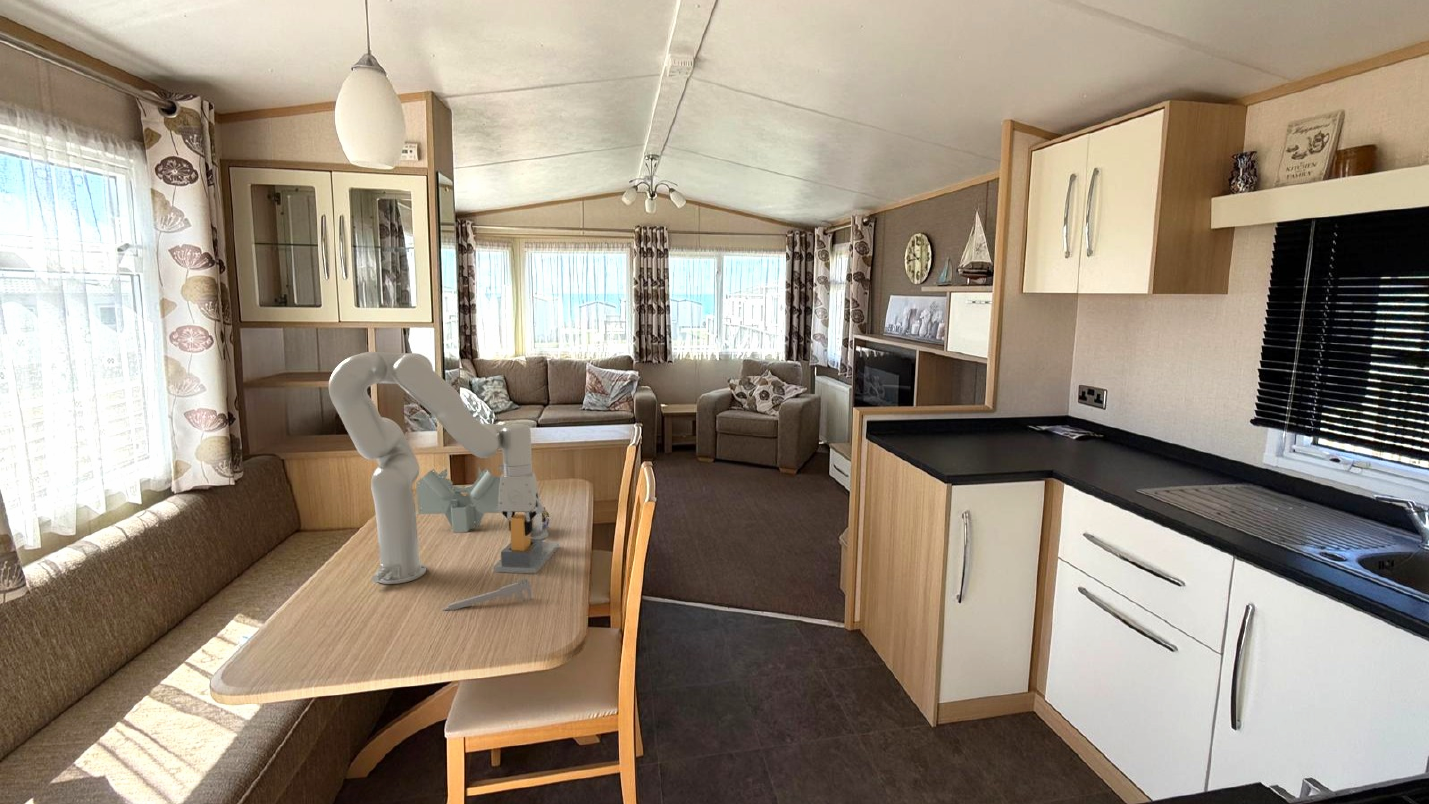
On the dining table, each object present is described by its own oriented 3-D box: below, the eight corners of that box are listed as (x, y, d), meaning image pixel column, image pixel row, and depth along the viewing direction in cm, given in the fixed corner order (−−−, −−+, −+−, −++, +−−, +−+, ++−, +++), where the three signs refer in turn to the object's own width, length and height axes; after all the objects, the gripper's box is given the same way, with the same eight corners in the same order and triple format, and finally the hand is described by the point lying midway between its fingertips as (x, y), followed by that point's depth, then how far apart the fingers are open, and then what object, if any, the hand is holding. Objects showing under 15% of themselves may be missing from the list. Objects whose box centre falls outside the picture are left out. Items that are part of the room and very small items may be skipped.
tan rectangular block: (523, 557, 184) (522, 518, 182) (511, 557, 184) (510, 518, 183) (530, 551, 189) (529, 513, 187) (518, 551, 189) (517, 513, 188)
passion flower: (544, 551, 211) (547, 529, 203) (509, 546, 210) (510, 524, 202) (551, 521, 220) (553, 499, 211) (517, 517, 218) (518, 494, 210)
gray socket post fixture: (536, 573, 181) (533, 518, 179) (493, 571, 183) (490, 517, 180) (559, 547, 200) (557, 497, 198) (520, 545, 201) (518, 496, 199)
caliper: (531, 599, 167) (530, 575, 166) (531, 601, 166) (530, 577, 165) (443, 610, 161) (442, 585, 160) (443, 612, 160) (441, 587, 159)
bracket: (509, 523, 220) (506, 464, 217) (503, 531, 213) (500, 470, 210) (424, 525, 219) (419, 465, 215) (415, 533, 212) (411, 471, 208)
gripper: (483, 472, 180) (486, 537, 183) (542, 474, 178) (545, 539, 181) (494, 465, 187) (498, 528, 190) (551, 466, 186) (554, 530, 189)
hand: (521, 533), depth 186 cm, fingers closed on tan rectangular block, 3 cm apart
